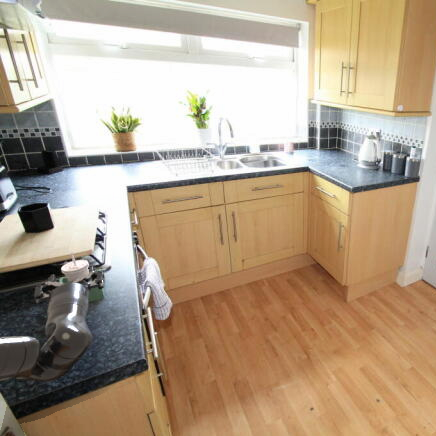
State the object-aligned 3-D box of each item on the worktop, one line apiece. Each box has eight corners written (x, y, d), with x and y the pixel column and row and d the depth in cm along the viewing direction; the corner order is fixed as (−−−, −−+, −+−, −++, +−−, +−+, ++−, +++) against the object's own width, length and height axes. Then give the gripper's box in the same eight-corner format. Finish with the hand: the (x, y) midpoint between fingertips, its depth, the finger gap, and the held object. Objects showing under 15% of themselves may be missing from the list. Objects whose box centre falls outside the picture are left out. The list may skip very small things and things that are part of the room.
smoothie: (77, 302, 92) (62, 260, 86) (66, 294, 94) (51, 253, 89) (101, 290, 97) (88, 250, 91) (90, 284, 100) (77, 244, 94)
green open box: (61, 309, 89) (56, 296, 88) (64, 290, 97) (59, 278, 95) (104, 297, 95) (100, 285, 93) (104, 280, 102) (100, 268, 100)
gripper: (100, 283, 78) (100, 254, 91) (23, 302, 71) (35, 268, 83) (108, 308, 81) (107, 276, 94) (35, 328, 74) (44, 292, 86)
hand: (73, 273), depth 88 cm, fingers open, 8 cm apart
